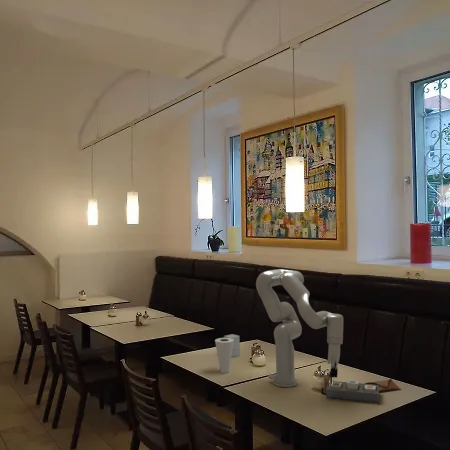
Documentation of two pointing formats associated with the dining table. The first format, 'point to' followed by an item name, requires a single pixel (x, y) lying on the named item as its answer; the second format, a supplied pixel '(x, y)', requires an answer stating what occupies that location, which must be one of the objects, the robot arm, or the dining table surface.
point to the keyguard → (353, 393)
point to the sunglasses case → (385, 385)
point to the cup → (224, 353)
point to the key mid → (352, 384)
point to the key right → (370, 388)
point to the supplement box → (234, 345)
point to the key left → (336, 385)
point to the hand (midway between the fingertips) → (333, 376)
